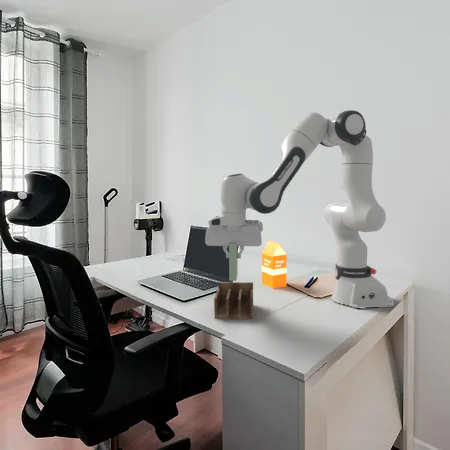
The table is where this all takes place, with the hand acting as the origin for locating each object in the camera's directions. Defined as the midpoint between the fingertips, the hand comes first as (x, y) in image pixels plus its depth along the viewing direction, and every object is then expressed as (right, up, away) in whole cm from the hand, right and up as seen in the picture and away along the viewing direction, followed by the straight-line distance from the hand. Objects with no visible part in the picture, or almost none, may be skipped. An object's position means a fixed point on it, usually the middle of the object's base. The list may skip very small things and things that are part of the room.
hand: (233, 258), depth 119 cm
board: (0, -7, +1) cm, 7 cm away
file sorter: (0, -20, +3) cm, 20 cm away
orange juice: (+20, -16, +33) cm, 42 cm away
